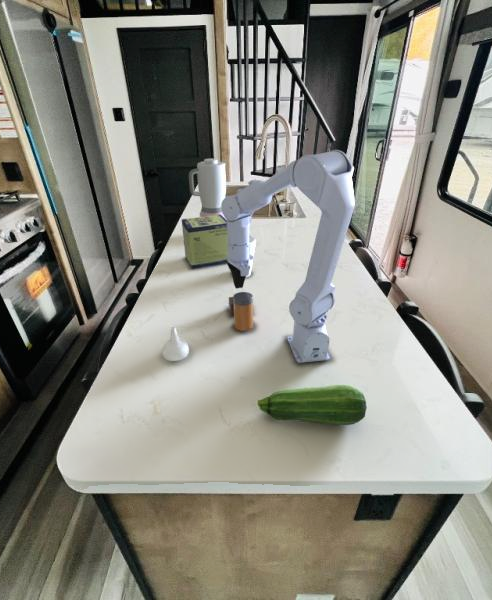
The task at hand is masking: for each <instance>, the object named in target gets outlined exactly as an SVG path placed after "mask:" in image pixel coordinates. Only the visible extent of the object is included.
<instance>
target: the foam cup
mask: <svg viewBox="0 0 492 600" xmlns="http://www.w3.org/2000/svg"><path fill="white" fill-rule="evenodd" d="M256 246H257V239H256V237H255V236H254V235H252V234H249V254H251V255H253V257H254V255H255V248H256ZM253 261H254V258H253V259H252V260H250V261H249V266H250V270H249V275H248V276H246V278H248V277H250V276H251V273H252V268H253Z"/></svg>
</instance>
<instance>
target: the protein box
mask: <svg viewBox="0 0 492 600" xmlns="http://www.w3.org/2000/svg"><path fill="white" fill-rule="evenodd" d="M181 228H182V237H183V247H184V257H185V260H186V261H187V263H188V265H189V267H190V268H191V270H193V269H201V268H206V267H212V266H217V265H224V264H227V263H228V261H227V256H228V246H227V220H226V219H225V218H224V217H223V216H222V215H221V214H219V215H212V216H204V217H200V216H197V217H187V218H182V219H181Z"/></svg>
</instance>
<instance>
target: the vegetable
mask: <svg viewBox="0 0 492 600" xmlns="http://www.w3.org/2000/svg"><path fill="white" fill-rule="evenodd" d="M257 405H258V408H259V410H260V411H261V412H264V413H265V414H267V415H269V416H270V417H271V418H272V419H275V420H280V421H301V422H304V421H305V422H309V423H310V422H312V423H315V424H317V423H318V424H323V425H329V426H351V425H355V424H357V423H359V422H360V421H362V420H363V419H364V418H365V417H366V412H367V408H368V407H367V401H366V398H365V395H364V394H363V392H362V391H360V390H359V389H358V388H355V387H353V386H350V385H347V384H346V385H345V384H336V385H334V384H333V385H328V386H317V387H303V388H295V389H287V390H285V389H284V390H278V391H274V392H272V393H271V395H268V396H265V397H263V398H262V399H259V400H257Z"/></svg>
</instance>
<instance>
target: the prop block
mask: <svg viewBox="0 0 492 600" xmlns="http://www.w3.org/2000/svg"><path fill="white" fill-rule="evenodd" d="M228 311H229V315H230V317H234V301H233V296H229V297H228Z"/></svg>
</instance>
